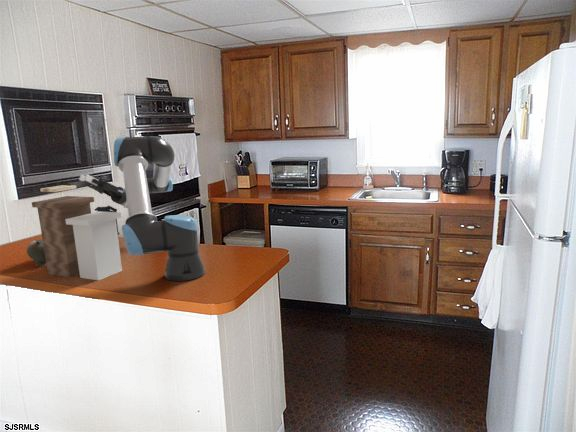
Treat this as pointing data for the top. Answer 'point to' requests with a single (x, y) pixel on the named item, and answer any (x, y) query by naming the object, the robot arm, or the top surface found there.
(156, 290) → the top surface
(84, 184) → the turner
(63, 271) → the plinth
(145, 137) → the robot arm
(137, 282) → the top surface
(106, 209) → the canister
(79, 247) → the white tapered pedestal
